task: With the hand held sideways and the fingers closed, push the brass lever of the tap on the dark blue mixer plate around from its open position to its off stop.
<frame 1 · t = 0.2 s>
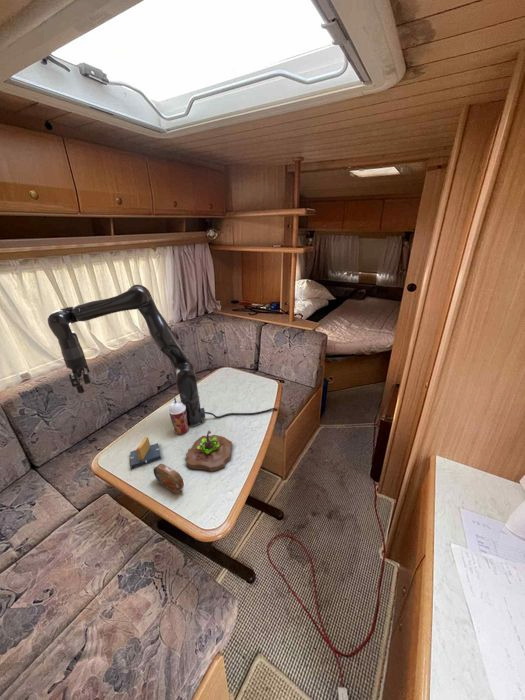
hand: (84, 387, 124), 29 cm above the table, tool pointing down, fingers open, 8 cm apart
plant: (210, 453, 124), on the table
tin: (170, 485, 109), on the table
smoothie: (181, 430, 139), on the table, touching arm
tap lever: (143, 448, 121), point 5 cm above the table, hinge at 60.0°
tap plate: (145, 457, 123), on the table
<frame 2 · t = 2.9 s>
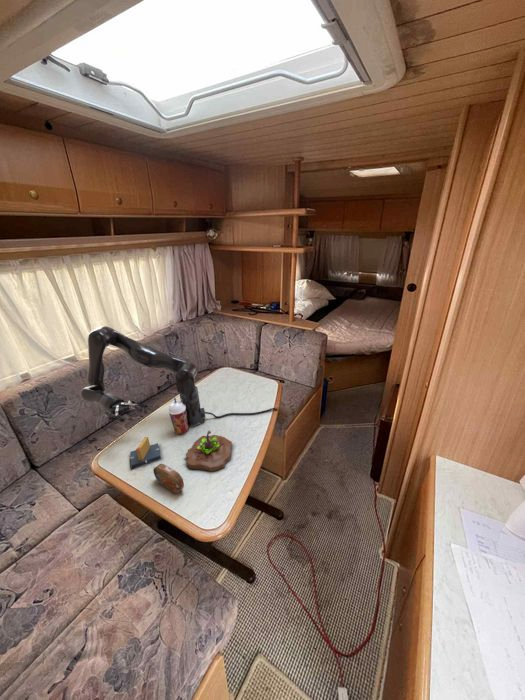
hand: (132, 415, 123), 18 cm above the table, tool horizontal, fingers open, 8 cm apart
nothing on the table moved.
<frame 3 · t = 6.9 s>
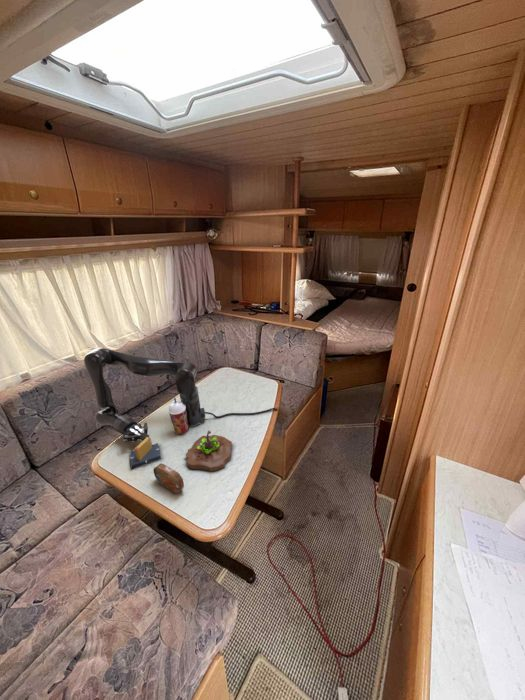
hand: (147, 438, 124), 7 cm above the table, tool horizontal, fingers closed
tap lever: (143, 448, 121), point 5 cm above the table, hinge at 44.6°, touching gripper
everything else where it was.
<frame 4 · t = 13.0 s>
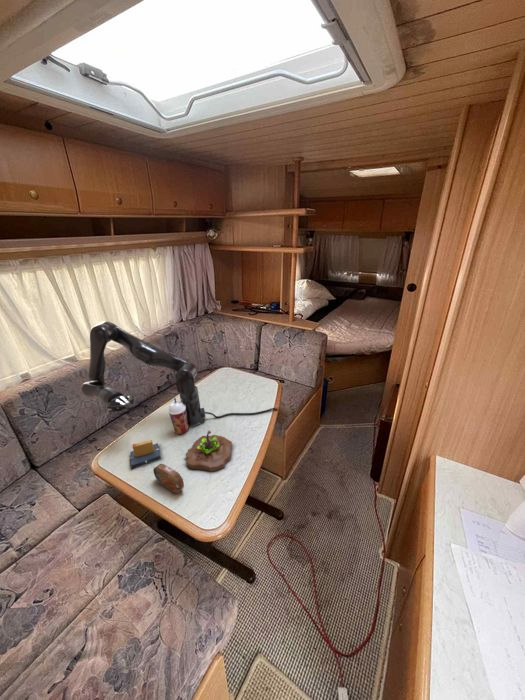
hand: (132, 408, 121), 22 cm above the table, tool horizontal, fingers closed
tap lever: (143, 448, 121), point 5 cm above the table, hinge at -6.0°
everything else where it was.
at the end: tap lever at -6° (first picture: +60°); smoothie moved 0.1 cm from its start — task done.
